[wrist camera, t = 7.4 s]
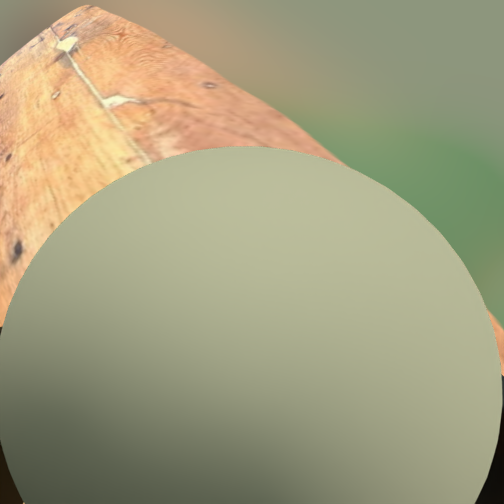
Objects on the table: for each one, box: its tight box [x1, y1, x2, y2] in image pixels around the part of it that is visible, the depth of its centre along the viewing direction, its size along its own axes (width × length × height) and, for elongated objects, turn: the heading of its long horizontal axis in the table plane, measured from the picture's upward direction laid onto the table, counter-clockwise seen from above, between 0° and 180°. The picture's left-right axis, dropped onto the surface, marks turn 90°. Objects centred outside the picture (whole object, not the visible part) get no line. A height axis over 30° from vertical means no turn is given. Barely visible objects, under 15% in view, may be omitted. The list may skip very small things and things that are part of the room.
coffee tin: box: [0, 146, 502, 504], centre depth 8 cm, size 6×6×13 cm
